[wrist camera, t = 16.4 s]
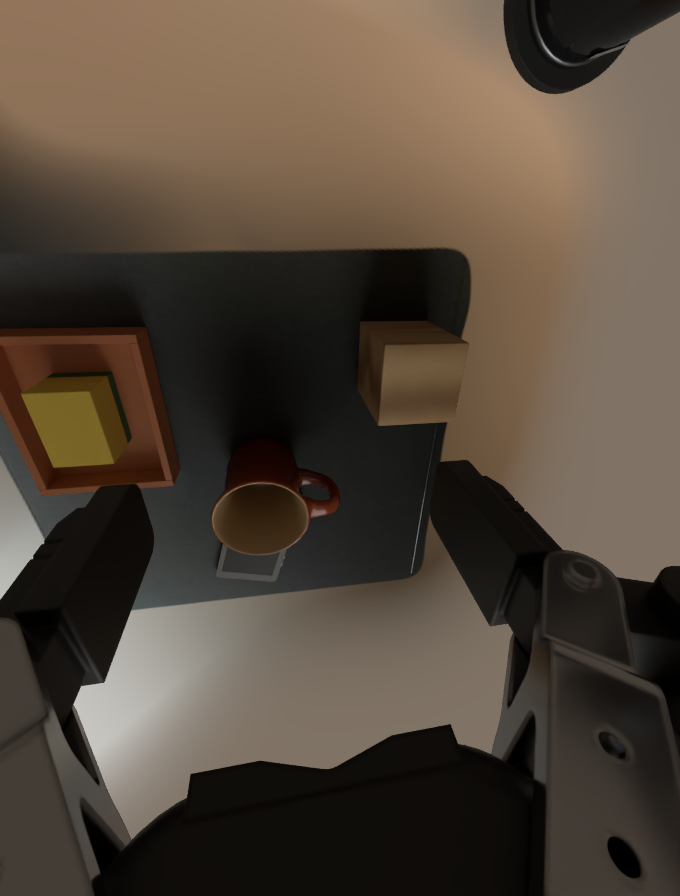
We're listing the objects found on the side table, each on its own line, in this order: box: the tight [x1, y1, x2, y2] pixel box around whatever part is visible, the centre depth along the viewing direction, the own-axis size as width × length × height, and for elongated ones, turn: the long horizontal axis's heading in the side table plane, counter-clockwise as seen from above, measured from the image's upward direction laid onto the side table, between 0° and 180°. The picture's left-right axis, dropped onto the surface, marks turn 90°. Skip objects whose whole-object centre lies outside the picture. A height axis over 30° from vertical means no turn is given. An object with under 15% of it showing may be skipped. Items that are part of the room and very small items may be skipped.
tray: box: [0, 327, 180, 496], centre depth 34 cm, size 15×12×3 cm
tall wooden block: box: [357, 321, 469, 426], centre depth 34 cm, size 7×7×9 cm
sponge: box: [21, 372, 132, 468], centre depth 33 cm, size 7×5×5 cm
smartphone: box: [216, 544, 287, 582], centre depth 46 cm, size 15×8×1 cm, turn 162°
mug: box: [211, 437, 340, 555], centre depth 37 cm, size 12×9×10 cm
